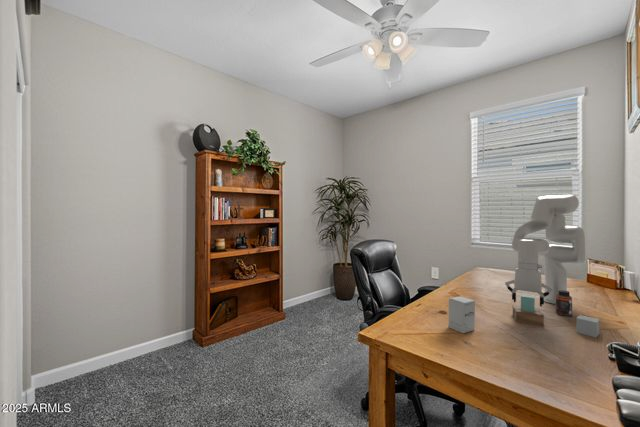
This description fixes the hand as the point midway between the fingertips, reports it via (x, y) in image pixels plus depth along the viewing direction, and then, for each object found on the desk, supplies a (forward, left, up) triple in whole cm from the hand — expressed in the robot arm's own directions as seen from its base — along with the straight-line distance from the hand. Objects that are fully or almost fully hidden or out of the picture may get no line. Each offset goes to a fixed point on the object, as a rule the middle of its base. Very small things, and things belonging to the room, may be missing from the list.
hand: (527, 303), depth 129 cm
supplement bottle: (-20, +14, -8) cm, 26 cm away
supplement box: (+30, -22, -8) cm, 38 cm away
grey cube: (+2, +20, -8) cm, 21 cm away
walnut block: (0, 0, -8) cm, 8 cm away
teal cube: (0, 0, -3) cm, 3 cm away
